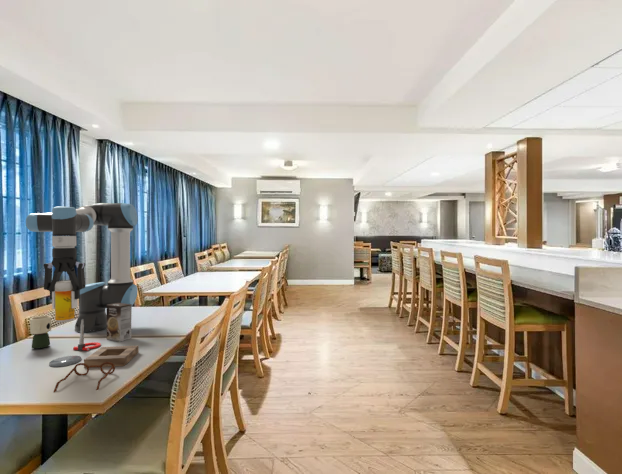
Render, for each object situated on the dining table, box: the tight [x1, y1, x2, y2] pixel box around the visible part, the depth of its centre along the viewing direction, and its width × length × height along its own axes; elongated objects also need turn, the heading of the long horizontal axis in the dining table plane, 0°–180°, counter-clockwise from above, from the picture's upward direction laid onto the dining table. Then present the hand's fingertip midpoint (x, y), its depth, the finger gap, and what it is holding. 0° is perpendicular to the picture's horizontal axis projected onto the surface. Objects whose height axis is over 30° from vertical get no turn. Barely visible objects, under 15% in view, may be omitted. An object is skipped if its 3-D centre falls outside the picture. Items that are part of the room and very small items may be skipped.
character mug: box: [29, 315, 52, 349], centre depth 148 cm, size 11×7×13 cm, turn 31°
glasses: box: [53, 362, 116, 393], centre depth 114 cm, size 13×13×5 cm
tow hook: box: [72, 319, 102, 352], centre depth 149 cm, size 8×13×9 cm
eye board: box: [83, 345, 140, 369], centre depth 134 cm, size 14×14×3 cm
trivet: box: [48, 355, 82, 368], centre depth 132 cm, size 10×10×1 cm
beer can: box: [54, 279, 76, 323], centre depth 131 cm, size 6×6×15 cm
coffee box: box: [106, 303, 133, 342], centre depth 160 cm, size 9×6×16 cm
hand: (65, 307), depth 131 cm, fingers closed on beer can, 6 cm apart
